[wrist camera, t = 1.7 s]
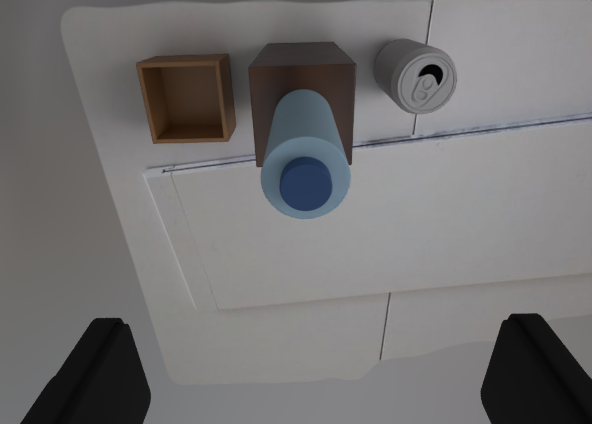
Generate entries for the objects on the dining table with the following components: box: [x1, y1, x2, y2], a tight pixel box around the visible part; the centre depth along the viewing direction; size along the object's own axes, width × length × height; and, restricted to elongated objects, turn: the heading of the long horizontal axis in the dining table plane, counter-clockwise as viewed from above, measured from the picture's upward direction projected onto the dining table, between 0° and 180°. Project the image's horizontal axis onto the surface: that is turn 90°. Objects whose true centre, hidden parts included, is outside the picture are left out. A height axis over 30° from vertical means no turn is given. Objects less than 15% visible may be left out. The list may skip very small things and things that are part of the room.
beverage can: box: [374, 39, 457, 114], centre depth 41 cm, size 6×6×12 cm
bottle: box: [261, 89, 351, 219], centre depth 24 cm, size 5×5×13 cm
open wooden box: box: [136, 54, 236, 144], centre depth 45 cm, size 9×9×6 cm
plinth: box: [248, 42, 356, 167], centre depth 39 cm, size 8×8×20 cm
